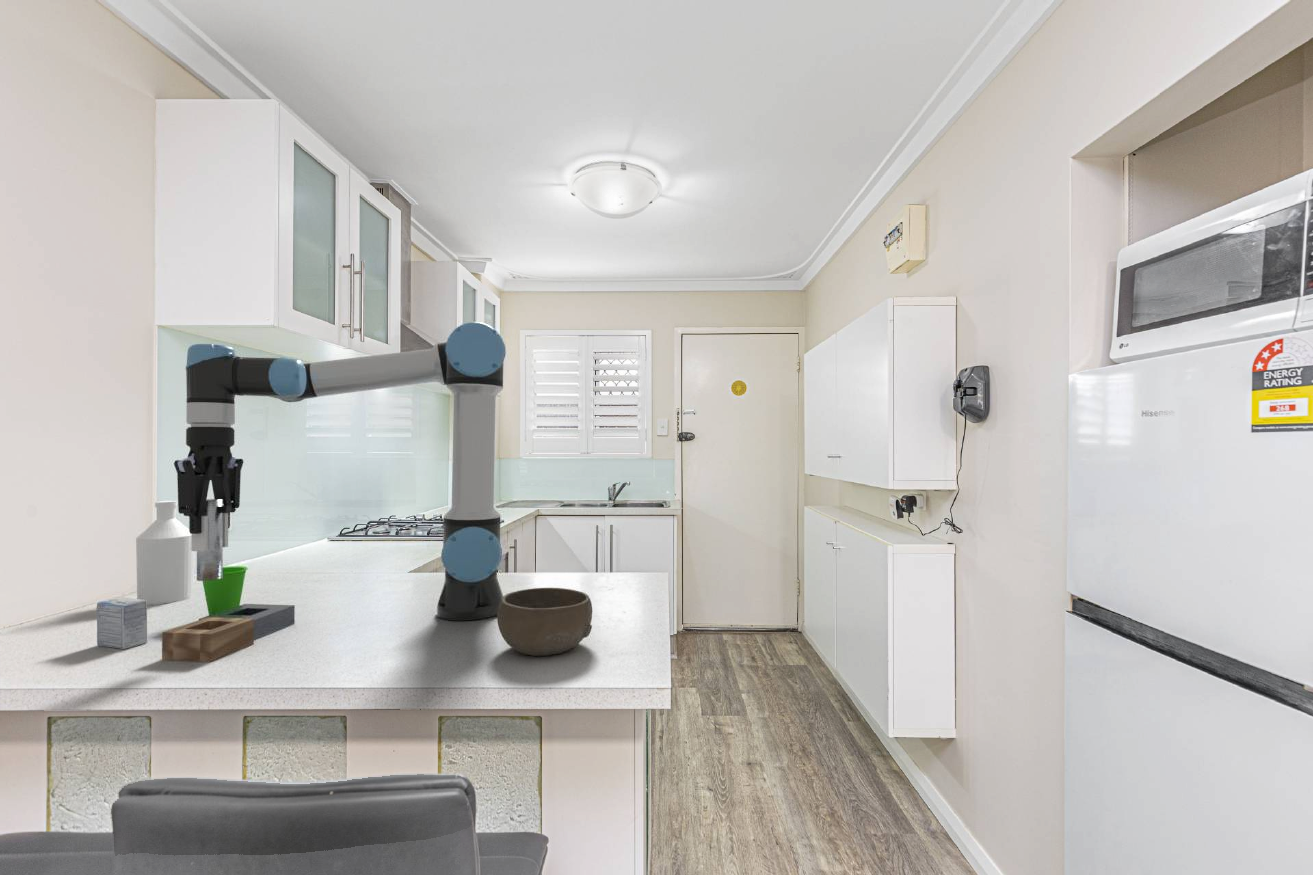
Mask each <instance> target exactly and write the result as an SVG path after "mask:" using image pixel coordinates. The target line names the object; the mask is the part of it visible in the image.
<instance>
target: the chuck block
mask: <svg viewBox="0 0 1313 875" xmlns="http://www.w3.org/2000/svg"><path fill="white" fill-rule="evenodd" d="M295 608H296V606H295V605H294V604H264V603H262V604H259V603H243V604H240V606H237V607H234V608H231V609H228V610H224V611H221V612H218V613H215V614H212V615H209V614H208V615H206V616H203V617H200V618H198V620H201V619H204V618H207V617H217V618H248V619H254V641H256V640H257V639H261V638H263V637H265V636H267V635H269V634H272V633H275V632H277V631H280V630H282V629H284V628H287V627H289V626H292V625H295V622H296V620H295V618H296V617H295V616H296V615H295V614H296V613H295V612H296V611H295V610H296V609H295Z"/></svg>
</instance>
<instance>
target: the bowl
mask: <svg viewBox="0 0 1313 875" xmlns="http://www.w3.org/2000/svg"><path fill="white" fill-rule="evenodd" d="M592 605H593V604H592V600H591V597H590V596H589V594H587V593H586V592H583V591H579V590H577V589H576V590H575V589H572V588H571V589H570V588H563V587H562V588H561V587H537V588H536V587H535V588H527V589H519V590H516V591H512V592H509V593H506V594H505V595H503V598H502V600H501V602H500V605H499V608H498V612H497V615H496V621H497V626H498V630H499V632H500V635H501V636H502V639H503V640H504V641H505V643H506V644H507V645H508V646H509V647H510V648H512V649H513V650H515V651H516V652H518V653H521V654H523V655H527V656H533V657H534V656H535V657H541V656H542V657H544V656H546V657H547V656H552V655H558V654H561V653H564V652H565V653H566V652H567V651H569V650H571V649H573V648H575V647H576V646H578V644H579V643H581V641H583V640H584V638H587V637H589V635H590V634H591V631H592V627H593V625H592V624H591V623H592V619H593V606H592Z"/></svg>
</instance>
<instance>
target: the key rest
mask: <svg viewBox="0 0 1313 875" xmlns="http://www.w3.org/2000/svg"><path fill="white" fill-rule="evenodd" d="M254 643H255V640H254V619H248V618H217V617H207V618H204V619H201V620H199V619H198V620H196V621H193V622H189V623H186V624H183V625H180V626H177V627H174V628H172V629H168V630H163V631H162V632H161V660H163V661H186V662H189V661H190V662H208V663H209V662H211V663H212V662H214V661H217V660H219V659H221V658H224V657H226V656H229V655H231V654H233V653H236V652H238V651H241V650H243V649H246V648H248V647H251V646H253V645H254Z"/></svg>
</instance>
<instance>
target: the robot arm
mask: <svg viewBox="0 0 1313 875" xmlns="http://www.w3.org/2000/svg"><path fill="white" fill-rule="evenodd" d="M186 353H187V355H186V365H185V373H186V374H185V376H186V379H185V380H186V381H185V382H186V383H185V384H186V421H185V422H186V424H188V425H190V426H188V427H187V428H186V429H185V444H186V446H187V447H189V452H188V454H187V457H186V458H183V459H181V460H180V459H176V460H175V461H174V462H173V466H174V468H175V471H176V474H177V475H176V476H177V478H176V479H177V481H176V482H177V501H178V506H177V508H178V509H177V510H178V514H180V515H182V514H183V516H184V517H188V519H189V520H188V521H189V522H188V523H189V525H188V526H189V528H188V529H189V532H190V534H192V538H191V551H194V552H197V551H208V516H203V515H204V511H205V505H206V499H208V492H209V488H210V481H211V485H212V493H213V499H223V506H232V512H230V513H223V548H227V547H229V529H230V527H231V513H235V512H236V511H237V510H236V509H238V508H240V504H241V502H240V501H241V500H240V499H241V479H242V478H241V474H242V473H241V472H242V469H243V465H244V459H243V458H236V457H233V453H232V452H231V447H233V446H235V429H234V427H232V425H235V423H236V422H235V419H236V415H235V414H236V413H235V410H236V409H235V407H236V406H235V404H236V402H235V397H236V396H242V397H243V396H246V397H248V396H251V397H269V398H274V399H278V400H280V401H283V402H285V403H286V402H287V403H295V402H296V403H297V402H301V401H304V400H305V399H314V398H319V397H326V396H327V397H328V396H334V395H335V396H336V395H342V394H343V395H344V394H351V393H358V392H366V391H375V390H381V389H390V388H397V387H398V388H399V387H404V386H411V385H412V386H413V385H418V384H419V385H420V384H421V385H422V384H426V383H427V384H428V383H435V382H437V383H439V384H441V385H442V386H446V388H447V389H448V390H449V391H450V392H451V393H452V395H453V418H452V419H453V421H452V425H453V426H452V464H451V465H452V466H451V468H452V472H451V476H452V477H451V508H450V509H449V510H448V511H447V512H446V513H445V514H444V515H443V529H442V530H443V534H442V535H443V536H442V538H443V539H442V540H443V541H442V548H441V553H440V554H441V563H442V565H443V567H444V574H445V575H444V576H445V577H444V583H443V587H442V589H441V593H440V596H439V599H438V602H437V606H436V615H437V617H438V618H440V619H443V620H449V621H475V619H477V620H482V619H483V620H484V619H487V618H492V617H495V615H496V616H497V612H498V608H499V605H500V602H501V600H502V598H503V596H504V595H503V592H502V589H501V586H500V583H499V582H500V581H499V580H498V567H499V564H500V563H501V560H502V555H503V549H502V546H501V544H502V543H501V518H502V516H501V514H500V513H499V511H498V510H496V509H495V506H494V504H495V503H494V499H495V497H494V496H495V495H494V494H495V493H494V492H495V489H494V488H495V450H496V448H495V447H496V445H495V443H496V442H495V441H496V400H497V399H496V398H497V396H498V394H500V392H502V391H503V389H504V361H505V358H506V353H507V351H506V345H505V342H504V340H503V338H502V336H501V334H500V333H499V332H498V331H497V330H496V329H495V328H493V327H492V326H491V325H489V324H486V323H483V322H478V321H470V322H466V323H462V324H460V325H459V326H457V327H456V328H454V330H452V332H451V333H450V334H449V336H448V337H447V340H446V342H441V343H435V344H434V345H433V347H432V348H426V349H418V350H417V349H416V350H411V351H410V350H409V351H408V350H407V351H401V352H394V353H393V352H392V353H385V354H384V353H383V354H376V355H368V356H358V357H350V358H342V359H334V360H333V359H332V360H325V361H317V362H309V363H304V362H302V361H301V360H300V359H298V358H297V359H296V358H288V357H247V356H246V357H243V356H237V355H236V351H235V349H234V348H233V347H231V346H229V345H224V344H212V343H196V344H192V345H190V346H188V349H187V352H186ZM196 508H197V509H196Z"/></svg>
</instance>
